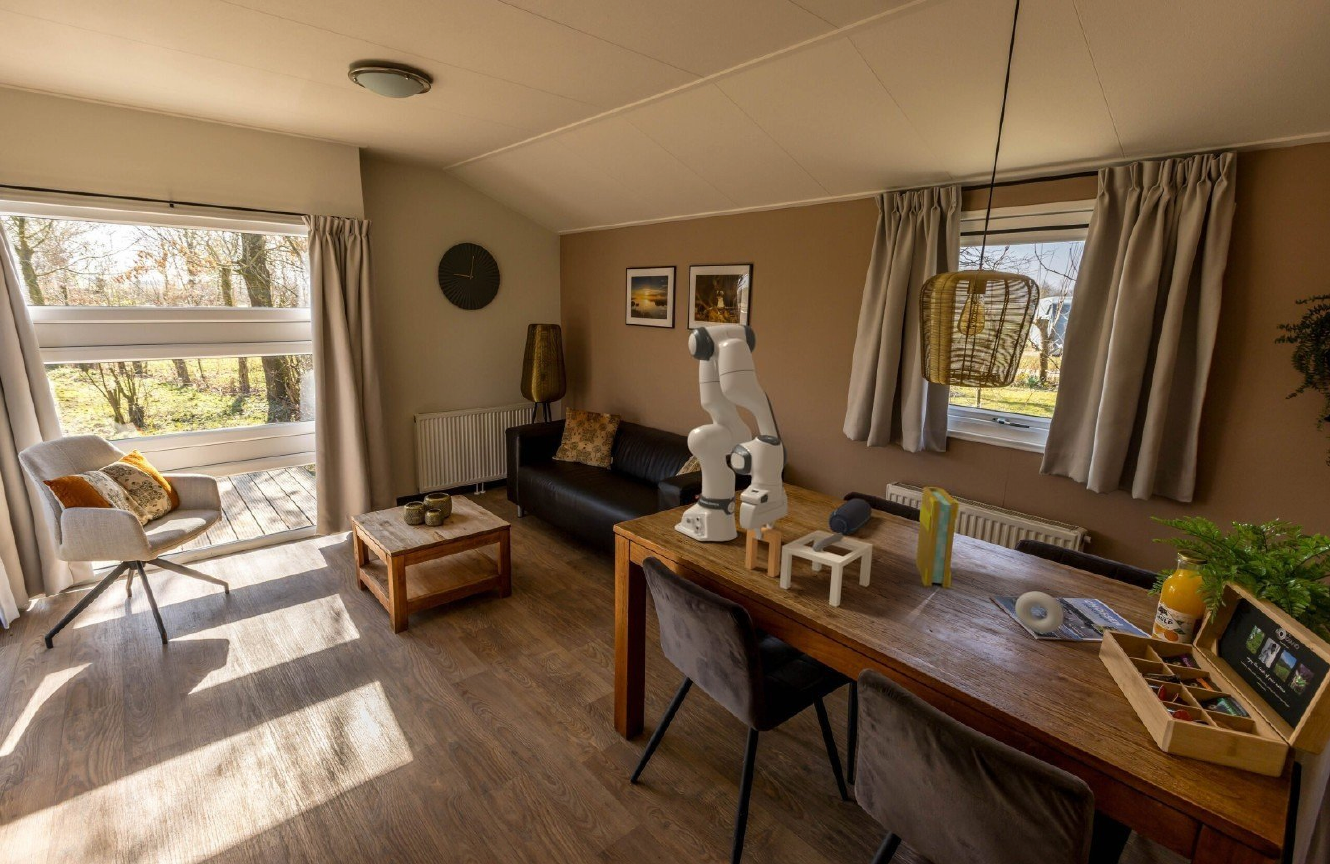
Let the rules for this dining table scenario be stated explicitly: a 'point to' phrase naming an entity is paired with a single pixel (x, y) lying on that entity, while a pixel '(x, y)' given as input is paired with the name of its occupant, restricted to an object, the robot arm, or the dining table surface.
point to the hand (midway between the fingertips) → (763, 536)
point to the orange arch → (774, 549)
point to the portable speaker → (850, 516)
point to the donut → (1034, 623)
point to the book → (936, 536)
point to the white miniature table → (827, 559)
